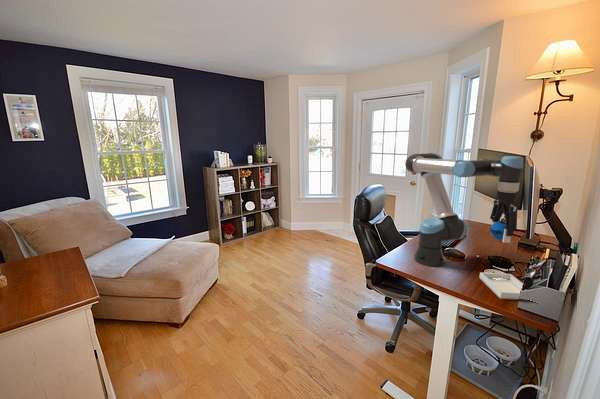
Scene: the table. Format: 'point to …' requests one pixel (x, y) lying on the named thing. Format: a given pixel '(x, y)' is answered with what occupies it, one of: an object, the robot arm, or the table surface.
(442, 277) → the table surface
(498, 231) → the ornament
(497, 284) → the bin
